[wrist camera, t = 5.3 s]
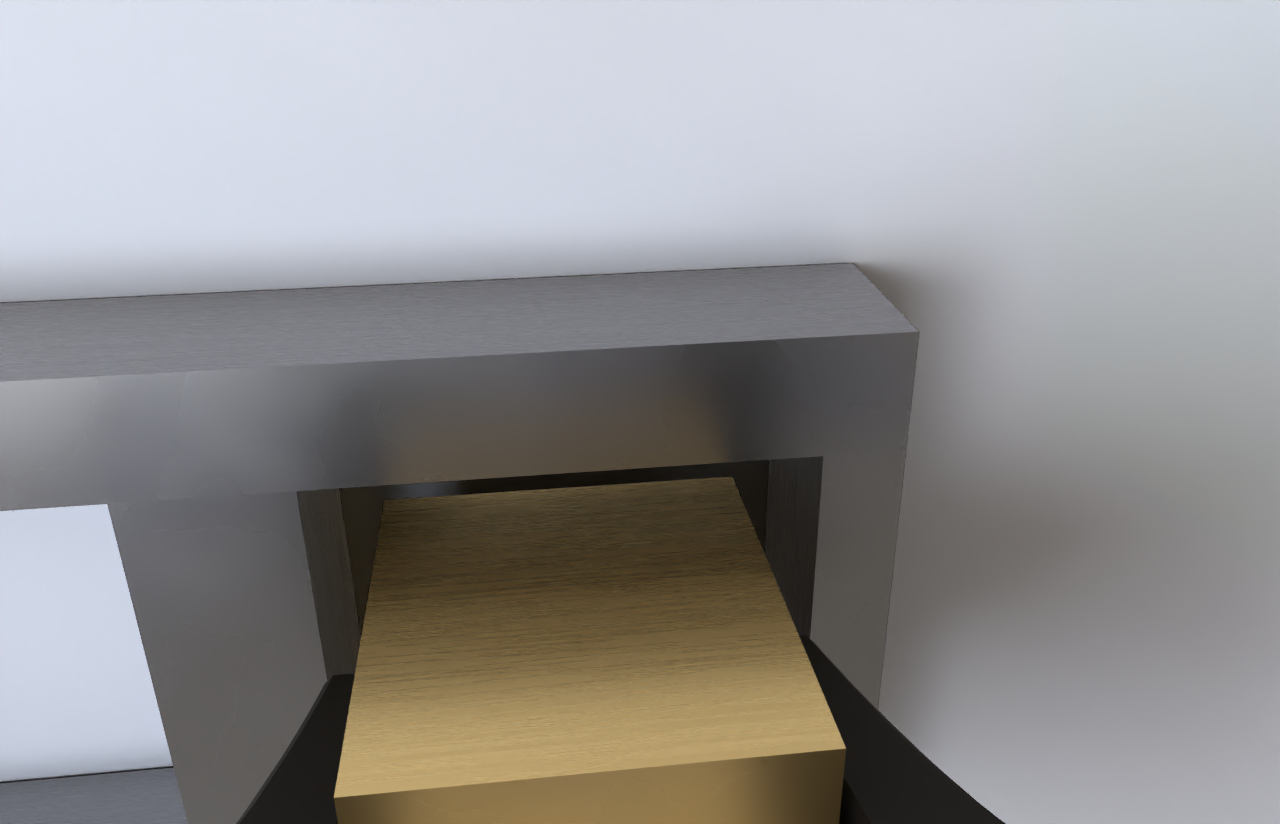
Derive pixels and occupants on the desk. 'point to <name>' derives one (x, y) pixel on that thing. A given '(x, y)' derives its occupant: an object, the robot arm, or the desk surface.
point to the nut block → (583, 666)
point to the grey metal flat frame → (425, 464)
